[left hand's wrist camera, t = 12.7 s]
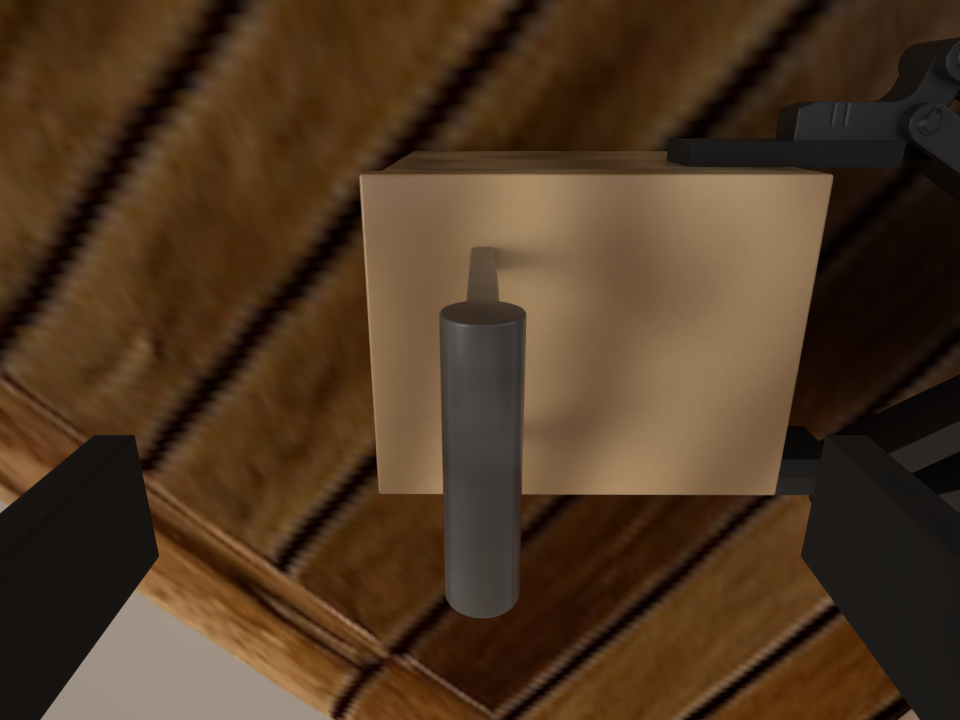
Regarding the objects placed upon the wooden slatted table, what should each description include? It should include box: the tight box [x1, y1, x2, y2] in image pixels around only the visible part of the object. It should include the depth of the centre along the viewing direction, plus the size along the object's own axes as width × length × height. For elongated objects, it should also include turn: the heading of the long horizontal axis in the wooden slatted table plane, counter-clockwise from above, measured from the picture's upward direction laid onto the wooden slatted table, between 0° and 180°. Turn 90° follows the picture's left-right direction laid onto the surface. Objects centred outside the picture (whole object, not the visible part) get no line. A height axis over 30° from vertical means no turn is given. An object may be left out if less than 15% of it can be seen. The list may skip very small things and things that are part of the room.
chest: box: [383, 151, 812, 171], centre depth 25 cm, size 13×10×10 cm
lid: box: [359, 171, 833, 618], centre depth 17 cm, size 13×10×9 cm
